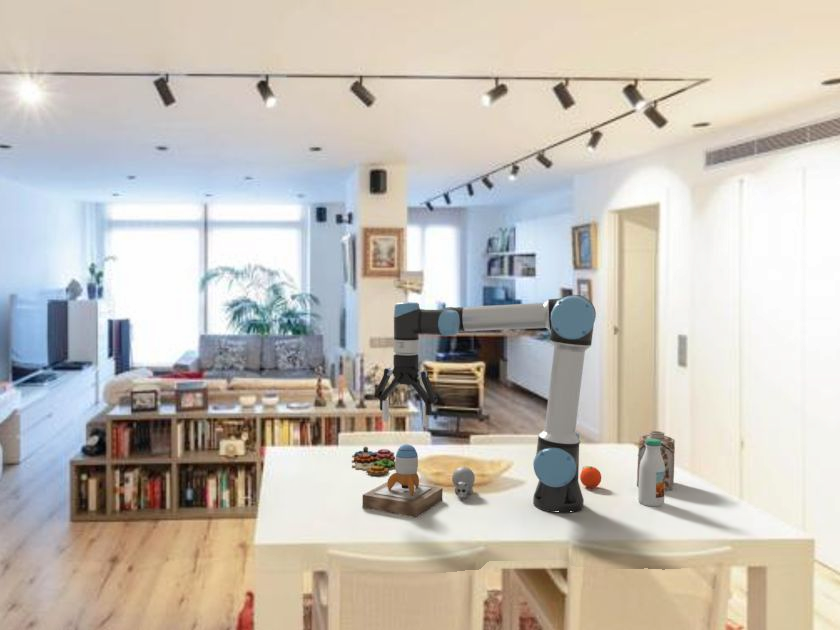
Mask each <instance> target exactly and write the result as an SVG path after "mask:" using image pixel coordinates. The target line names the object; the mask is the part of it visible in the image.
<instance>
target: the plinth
mask: <svg viewBox="0 0 840 630" xmlns="http://www.w3.org/2000/svg"><path fill="white" fill-rule="evenodd" d="M387 482H388V481H386V482H385V483H383V484H381V485H379V486H377V487H375V488H373V489H371V490H369V491H368V492H365V493H363V494H362V507H361V508H362V509H367V510H372V511H378V512H384V513H387V514H394V515H399V514H401V515H400V516H405V515H406V517H410V516H412V517H413V518H416V517H417V518H418V517H420V516H421V515H423V514H424V513H426V512H427V511H428V510H430V509H433V507H435V506H436V505H438V504H439V503H441V502H442V501H443V487H439V486H433V485H428V484H427V485H425V484H420V483H419V486H418V487H416V486H415V485H414V495H413V496H411V495H410V491H409V489H404V488H402V485H401V484H400V483H398V482H396V483H395V484H394V486H393V487H392V488H391V490H389V489H388V486H387ZM422 513H423V514H422ZM419 515H420V516H419Z"/></svg>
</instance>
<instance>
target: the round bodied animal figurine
mask: <svg viewBox="0 0 840 630" xmlns="http://www.w3.org/2000/svg"><path fill="white" fill-rule="evenodd" d="M475 478H476V477H475V473H474V472H473V470H472V469H471V468H470V467H466V466H460V467H457V468H456V469H455V470H454V471H453V473H452V476H451V479H452V484H453V486H454V493H455V494H457V498H458V499H459V500H461V501H463V500H465V499H467V496H468V495H472V494H473V493H474V490H473V487H474V484H475V481H476V480H475Z"/></svg>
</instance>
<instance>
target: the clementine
mask: <svg viewBox="0 0 840 630" xmlns="http://www.w3.org/2000/svg"><path fill="white" fill-rule="evenodd" d="M579 474H580V475H579V479H580V482H581V484H582V485H583V486H585V487H586V488H589V489H594V488H596V487H598V486H599V485H600V484H601V482H602V473H601V472H600V470H599V469H598V468H596V467H594V466H589V465H587V466H586V465H585V466H583V467H582V468H581V472H580V473H579Z"/></svg>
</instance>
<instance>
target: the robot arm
mask: <svg viewBox="0 0 840 630" xmlns="http://www.w3.org/2000/svg"><path fill="white" fill-rule="evenodd" d="M393 311H394V313H393V352H394V354H393V369H392V368H391V367H387V368H384V370H383V375H382V378H381V379H380V382H379V384H378V387H377V389H376V390H375V393H374V395H373V396H374V398H376V399H378V400H379V410H380V411H381V413H382V415H381V419H382V420H381V422H382V423H386V422H389V420H390V419H389V416H390V415H389V413H390V409H389V408H390V404H389V402H390V401H389V399H388V397H389V396H390V394H392V392H393V391H394V389H396V387H397V386H398V385H406V386H410V385H411V386H412V387H413V388H414V390H415V391H416V392H417V394H418V396H419V397H420V398H421V400H422V401H423V402H424V404H422V428H423V427H424V428H425V427H427V426H429V422H430V417H429V416H431V415H432V409H433V407H432V406H433V404H435V403H437V402H438V401H439V400H438V397H437V395H436V392H435V390H434V387H433V386H432V382H431V381H430V378H429V371H428V370H423V371H422V370H421V371H420V370H419V359H420V358H419V354H418V353H419V349H420V348H419V345H420V344H419V342H420V341H419V340H420V338H419V336H420V335H426V336H427V335H430V336H433V335H434V336H444V337H448V336H456V335H457V334H458V332H470V331H471V332H474V331H477V332H478V331H495V330H496V331H498V330H503V331H504V330H523V329H524V330H525V329H526V330H527V329H545V328H546V329H547V330H548V331H549V332H550V335H549V342H550V343H551V345H552V346H553V356H552V363H551V373H550V381H549V389H548V397H547V406H546V413H545V414H546V416H545V423H544V424H545V425H544V429H543V430H542V431H540V432H539V433H538V436H537V437H538V438H537V445H536V452H535V453H536V454H535V457H534V459H533V465H532V466H533V472H534V474H535V476H536V478H537V479H538V482H537V486H536V487H535V491H534V493H533V496H532V497H533V498H532V499H533V500H532V501H533V502H532V504H533V506H534V507H536V508H537V509H540V510H542V509H543V510H542V511H546V510H548V511H547V512H551V511H559V512H558V513H560V512H568V513H571V512H570V511H576V512H579V511H582V510H583V509H584V506H585V505H584V503H585V501H584V497H583V492H582V489H581V485H580V483H579V474H580V473H579V469H580V468H579V466H580V443H581V440H580V434H579V433H578V432H577V431H576V429H577V421H578V420H577V419H578V410H579V403H580V402H579V401H580V394H581V387H582V379H583V369H584V363H585V362H584V360H585V356H586V355H585V353H586V351H587V349H590V348H591V347H592V343H593V342H592V341H593V334H594V324H595V320H596V317H597V312H596V307H595V306H594V303H593V302H592V301H591V300H590V299H588V298H587V297H586V296H583V295H580V294H573V295H567V296H565V297H560V298H559V297H558V298H550V299H547V300H546V301H545V302H539V303H538V302H536V303H535V302H534V303H515V304H514V303H513V304H501V305H500V304H498V305H497V304H496V305H494V304H493V305H477V306H462V307H453V306H449V307H444V308H441V309H422V308H420V304H419V302H411V301H409V302H408V301H406V302H405V301H403V302H402V301H401V302H397V303H395V305H394V309H393ZM392 375H393V377H394V378H393V379H392V381H391V382H390V384H389V385H388V382H389V380H390V378H391V376H392ZM418 377H419V378H420V379H421V382H422V384H423V385H421V382H420V380H419V379H418ZM387 385H388V386H387ZM386 386H387V388H386ZM423 386H424V387H423ZM385 388H386V389H385ZM582 508H583V509H582ZM578 510H579V511H578Z"/></svg>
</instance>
